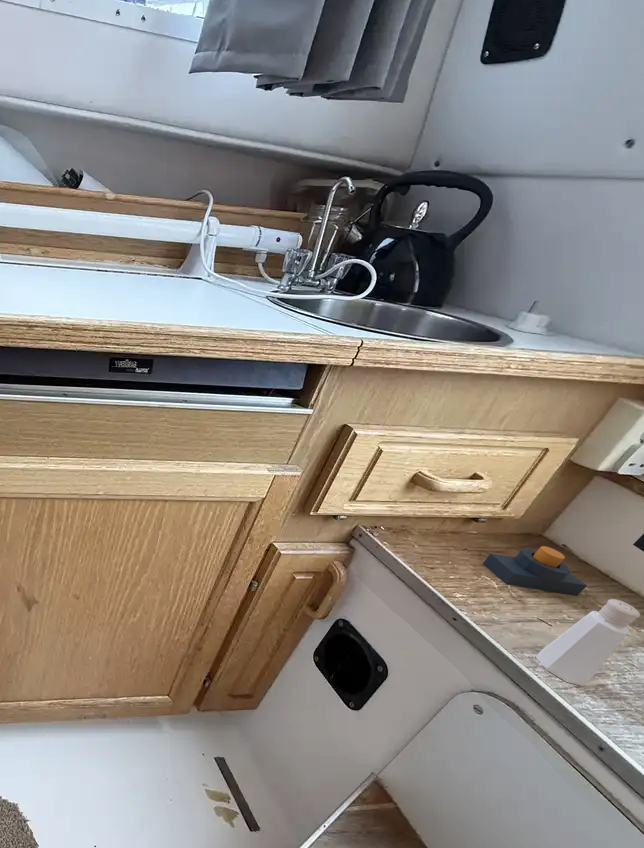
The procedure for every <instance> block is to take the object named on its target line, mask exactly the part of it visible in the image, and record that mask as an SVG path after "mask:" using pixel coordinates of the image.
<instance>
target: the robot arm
mask: <svg viewBox="0 0 644 848" xmlns="http://www.w3.org/2000/svg"><path fill="white" fill-rule="evenodd" d="M632 545H633V546H634V547H635V548H637V549H639V550H640V551H642V552H643V553H644V533H642V534H641V536H640V537H638V539H637V540H635V542H634V543H633V544H632Z"/></svg>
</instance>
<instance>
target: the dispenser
mask: <svg viewBox="0 0 644 848" xmlns="http://www.w3.org/2000/svg"><path fill="white" fill-rule="evenodd" d="M537 551H538V549H535V548H530V547H524V548H523V549H521V550H520V551H519V552H518V554H516V556H510V555H505V554H497V553H492V552H491V553H489V555H488V556H487V557H486V559H485V560H484V561H483V563H482V564H483V565H484V566H485V567H486V568H487V569H488V570H489V571H491V572H492V573H493V574H494V575H495V576H496V577H497V578H499V579H500V580H501V581H502V582H503V583H504V584H505V585H510V586H515V587H521V588H522V587H523V588H529V589H533V590H534V589H535V590H539V591H545V592H546V591H547V592H552V593H559V594H564V595H570V596H579V595H580V594H581V593H582V591H583V590H585V589H586V587H587V586H588V585H587V584H586V583H585V582H583V581H582V580H580V579H579V578H578V577H577V576H576V575H574V574H573V573H571V570H570V568H569V567H568V566H567V564H565V563H564V562H563V561H562V562H561V563H560V564H559V565H558V566H557V567H556V568H554V567H550V566H548V565H545V564H543V563H541V562H540V561H538V560H536V559H535V558H534V557H533V555H534V554H535V553H536V552H537Z"/></svg>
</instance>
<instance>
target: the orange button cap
mask: <svg viewBox="0 0 644 848" xmlns="http://www.w3.org/2000/svg"><path fill="white" fill-rule="evenodd" d="M537 550H538V551H537V552H536V553H535V554H534V555H533V557H534V558H535V559H536V560H538V561H540V562H541V563H543V564H545V565H548V566H550V567H554V568H556V567H557V566H558V565H559V564H560V563H561V562H562V563H563V561H564V560H565V558H566V556H565V555H564V553H562V552H560V551H558V550H556V549H554V548H552V547H550V546H546V545H542V546H540V547H539V548H538V549H537Z"/></svg>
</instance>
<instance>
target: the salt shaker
mask: <svg viewBox="0 0 644 848" xmlns="http://www.w3.org/2000/svg"><path fill="white" fill-rule="evenodd" d="M640 617H641V612H639V611H638V610H637V608H635V607H634V606H632V605H631V604H630V603H627V602H625V601H622V600H620V599H616V598H610V599H608V600H607V601H606V604H604V605H603V606H602V607H601V609H600V610H599V611H596V610H592V611H590V612H589V613H587V614H586V615H584V616H583V617H582V618H581V619H579V620H578V621H577V622H576V623H574V624H573V625H571V626H570V627H569V628H568V629H566V630H565V631H563V633H562V634H560V635H559V636H557V637H556V638H555V639H553V640H552V641H551V642H550V643H548V644H547V645H546V646H545V647H544V648H542V649H541V650H540V651H538V653H537V654H536V656H535V657H536V659H537V660H538V662H539V663H540V664H541V665H542V666H543V668H544V669H545V670H546V671H547V672H549V673H551V674H552V675H554V676H556V677H558V678H559V679H561V680H563V681H564V682H566V683H569V684H573V685H577V686H581V687H586V685H587V684H589V682H590V681H591V679H593V677H594V676H595V674H596V673H597V672H598V671H599V670H600V669H601V667H602V666H603V665H604V663H605V662H606V661H607V660H608V658H610V657H611V655H612V654H613V652H615V650H616V649H617V648H618V646H619V645H620V644H621V643H622V641H623V640H624V639H625V638H626V636H627V635H628V633H629V632H630V629H629V628H628V627H629V625H631V624H632V623H633V622H634V621H635V620H636V619H639V618H640Z"/></svg>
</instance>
